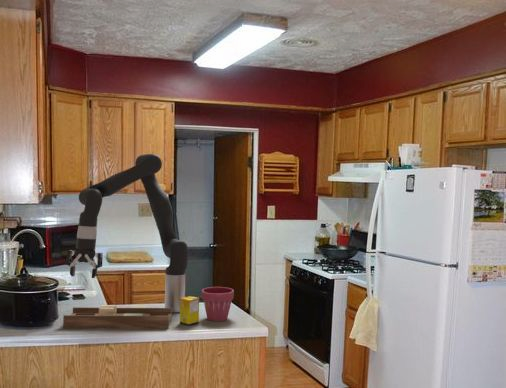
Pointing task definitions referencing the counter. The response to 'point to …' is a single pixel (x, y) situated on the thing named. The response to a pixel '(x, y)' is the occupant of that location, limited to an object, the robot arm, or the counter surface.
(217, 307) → the plant pot
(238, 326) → the counter surface
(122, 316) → the walnut track
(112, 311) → the maple block
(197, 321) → the supplement box
